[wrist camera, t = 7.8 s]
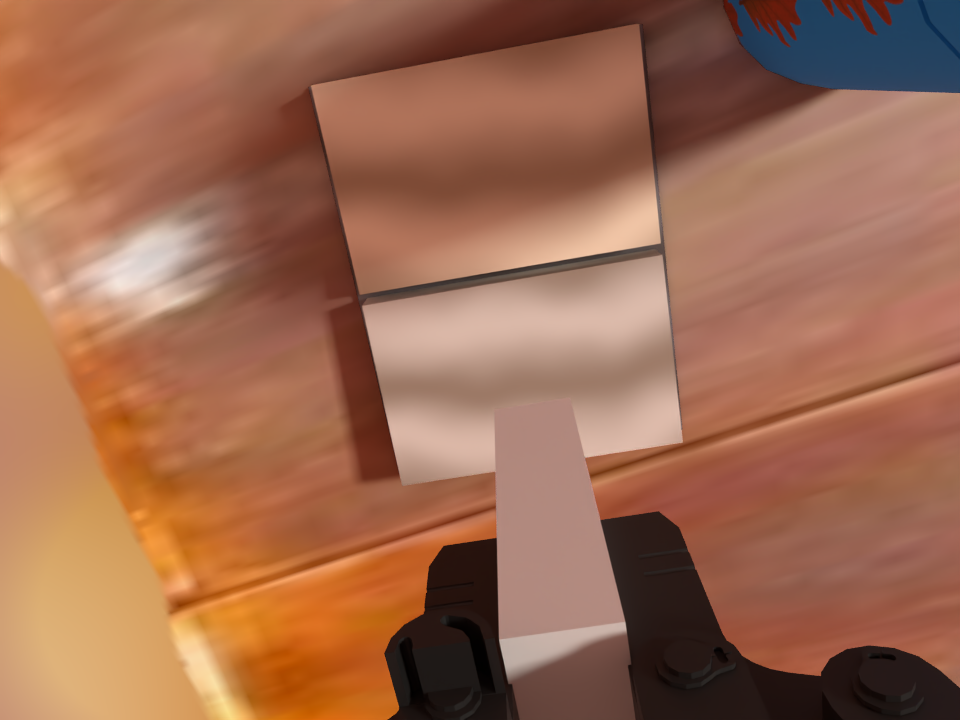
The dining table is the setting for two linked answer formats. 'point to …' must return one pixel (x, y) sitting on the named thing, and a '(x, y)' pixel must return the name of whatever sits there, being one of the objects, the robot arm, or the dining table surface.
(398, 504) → the dining table surface
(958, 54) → the thermos
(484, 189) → the floor board
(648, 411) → the plank
